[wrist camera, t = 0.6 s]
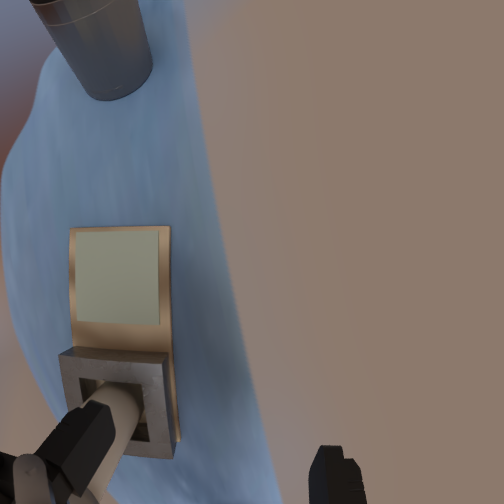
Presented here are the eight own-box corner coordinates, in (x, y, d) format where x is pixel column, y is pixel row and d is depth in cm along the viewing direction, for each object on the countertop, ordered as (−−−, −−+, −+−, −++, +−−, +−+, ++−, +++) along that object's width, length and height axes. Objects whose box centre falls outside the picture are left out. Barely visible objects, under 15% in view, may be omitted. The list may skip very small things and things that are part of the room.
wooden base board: (74, 229, 28) (51, 222, 23) (170, 227, 29) (162, 218, 24) (91, 427, 27) (75, 447, 22) (181, 437, 28) (176, 461, 23)
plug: (96, 368, 26) (-3, 450, 9) (148, 372, 27) (79, 479, 9) (104, 416, 26) (30, 516, 8) (153, 421, 27) (108, 542, 9)
